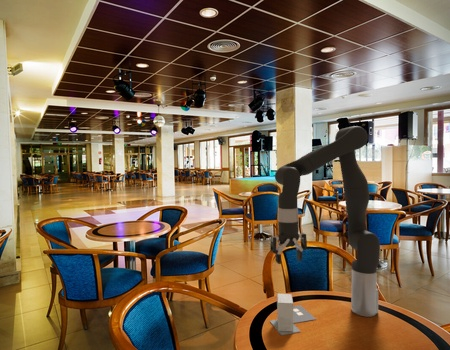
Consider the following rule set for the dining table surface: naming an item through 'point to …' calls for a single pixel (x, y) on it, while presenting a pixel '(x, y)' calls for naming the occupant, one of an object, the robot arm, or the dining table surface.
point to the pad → (295, 330)
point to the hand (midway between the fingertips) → (289, 262)
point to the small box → (285, 312)
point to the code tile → (301, 314)
